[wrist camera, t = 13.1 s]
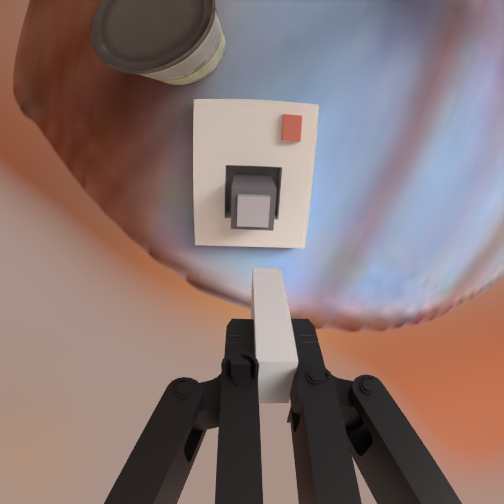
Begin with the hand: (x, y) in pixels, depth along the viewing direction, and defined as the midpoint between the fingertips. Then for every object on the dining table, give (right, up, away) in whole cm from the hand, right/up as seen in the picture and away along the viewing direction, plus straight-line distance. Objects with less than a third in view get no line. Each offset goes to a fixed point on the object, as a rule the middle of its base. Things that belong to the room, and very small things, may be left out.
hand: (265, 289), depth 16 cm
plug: (-1, +10, +21) cm, 23 cm away
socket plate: (-1, +12, +20) cm, 23 cm away
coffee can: (-9, +27, +12) cm, 31 cm away
